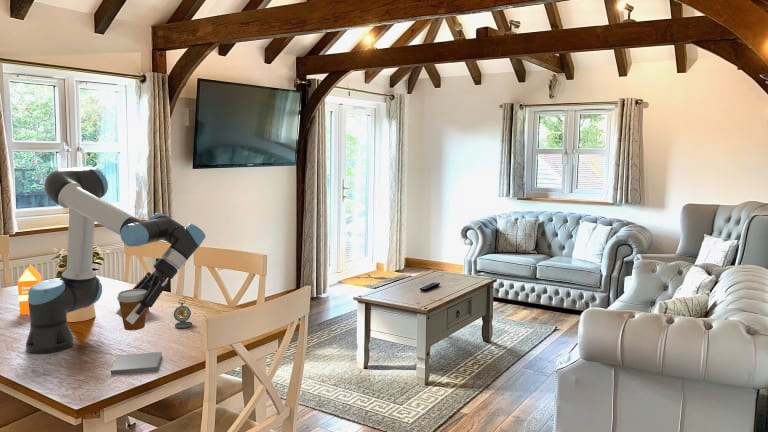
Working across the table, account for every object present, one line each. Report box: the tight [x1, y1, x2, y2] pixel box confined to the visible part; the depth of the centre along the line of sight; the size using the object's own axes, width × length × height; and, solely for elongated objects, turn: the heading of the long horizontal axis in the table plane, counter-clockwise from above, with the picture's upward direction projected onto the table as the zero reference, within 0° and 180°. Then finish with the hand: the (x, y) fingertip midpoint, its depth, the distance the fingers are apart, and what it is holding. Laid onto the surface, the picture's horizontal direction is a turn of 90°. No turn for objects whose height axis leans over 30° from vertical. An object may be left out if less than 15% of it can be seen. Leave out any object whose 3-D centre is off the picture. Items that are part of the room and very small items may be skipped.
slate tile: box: [110, 351, 162, 376], centre depth 202 cm, size 14×14×2 cm
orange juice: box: [17, 264, 43, 315], centre depth 261 cm, size 8×9×20 cm
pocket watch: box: [173, 299, 193, 329], centre depth 244 cm, size 8×8×10 cm
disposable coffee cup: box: [116, 288, 147, 331], centre depth 200 cm, size 10×10×12 cm
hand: (123, 318), depth 198 cm, fingers closed on disposable coffee cup, 8 cm apart
